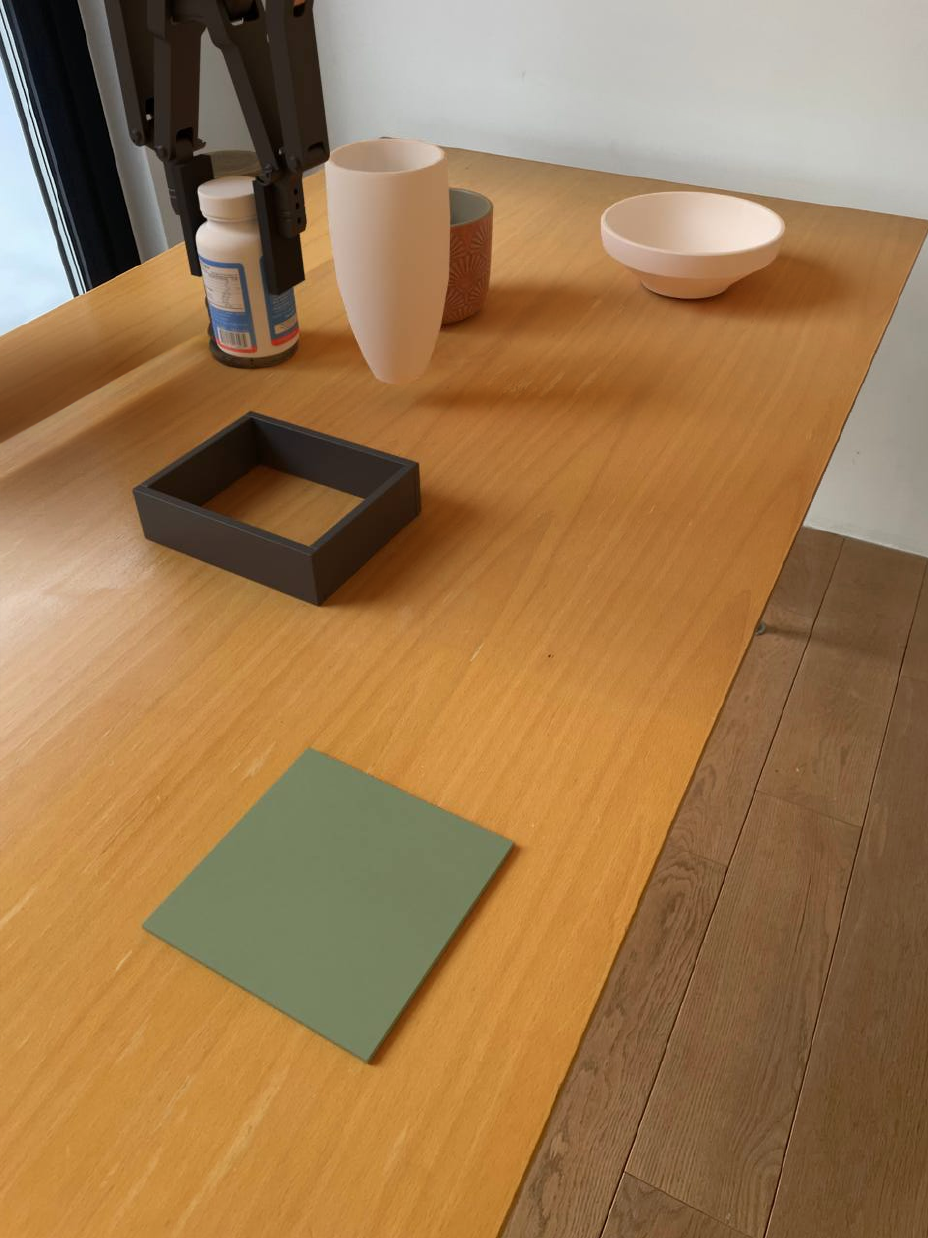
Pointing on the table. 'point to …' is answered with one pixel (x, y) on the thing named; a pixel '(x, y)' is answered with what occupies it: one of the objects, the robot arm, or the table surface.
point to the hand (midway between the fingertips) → (247, 276)
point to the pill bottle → (240, 274)
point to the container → (222, 166)
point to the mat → (332, 899)
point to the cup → (391, 249)
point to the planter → (468, 254)
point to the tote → (259, 553)
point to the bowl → (691, 240)
